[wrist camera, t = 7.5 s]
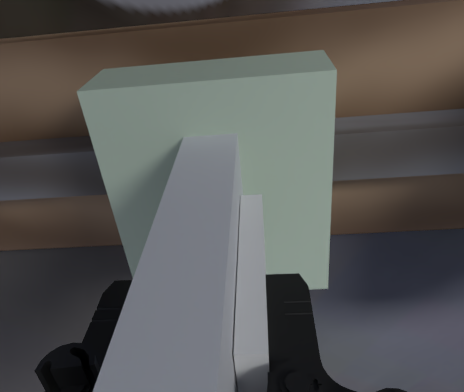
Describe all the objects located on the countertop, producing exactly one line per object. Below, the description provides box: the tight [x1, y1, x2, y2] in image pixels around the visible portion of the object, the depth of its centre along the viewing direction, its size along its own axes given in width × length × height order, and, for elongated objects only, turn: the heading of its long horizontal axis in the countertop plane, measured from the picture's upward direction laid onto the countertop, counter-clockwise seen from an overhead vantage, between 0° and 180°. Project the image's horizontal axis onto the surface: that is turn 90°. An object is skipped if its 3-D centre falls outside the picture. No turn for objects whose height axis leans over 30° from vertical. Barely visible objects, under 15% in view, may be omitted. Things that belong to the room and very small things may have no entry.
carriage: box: [77, 50, 337, 392], centre depth 14 cm, size 10×9×15 cm
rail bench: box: [0, 0, 464, 251], centre depth 17 cm, size 12×50×12 cm, turn 95°
